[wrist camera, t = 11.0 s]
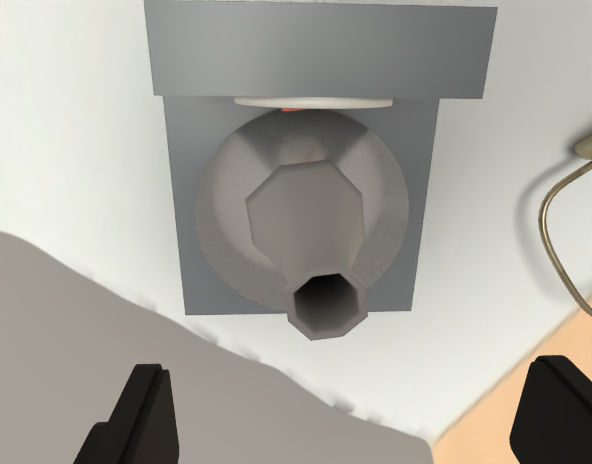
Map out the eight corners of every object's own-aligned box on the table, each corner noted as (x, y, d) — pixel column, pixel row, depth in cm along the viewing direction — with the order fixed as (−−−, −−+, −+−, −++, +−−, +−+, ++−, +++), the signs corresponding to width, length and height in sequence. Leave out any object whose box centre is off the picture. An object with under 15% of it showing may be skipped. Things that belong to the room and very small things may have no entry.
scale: (417, 40, 27) (554, 5, 14) (391, 278, 33) (467, 407, 20) (176, 35, 26) (80, -7, 13) (197, 281, 33) (147, 417, 19)
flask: (382, 242, 25) (446, 339, 16) (278, 288, 26) (282, 406, 17) (337, 136, 23) (382, 178, 13) (224, 191, 23) (192, 266, 14)
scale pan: (415, 107, 23) (421, 109, 22) (393, 302, 28) (397, 309, 27) (189, 105, 23) (185, 106, 22) (205, 305, 27) (202, 313, 26)
